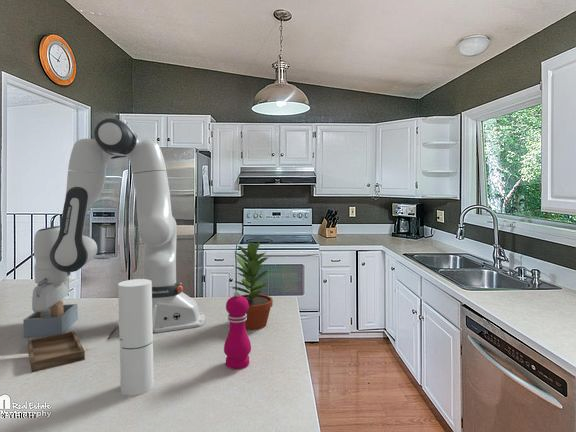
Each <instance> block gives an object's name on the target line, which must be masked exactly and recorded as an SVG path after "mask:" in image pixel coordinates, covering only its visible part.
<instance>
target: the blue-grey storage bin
mask: <svg viewBox="0 0 576 432" xmlns="http://www.w3.org/2000/svg"><path fill="white" fill-rule="evenodd" d="M63 309H64V314H62V315H61V316H60V317H48V318H41V316H40V312H34V311H33V313H31V314H30V315H29V316H27V317H25V318H24V319H23V338H33V337H35V338H38V337H47V336H53V335H58V334H63V333H66V331H68V329H69V328H71V326H73V325H74V324H75V323H76V322H77V321H78V320H79V315H78V313H79V312H78V310H79V309H78V303H68V304H63Z"/></svg>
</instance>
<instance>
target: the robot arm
mask: <svg viewBox="0 0 576 432" xmlns="http://www.w3.org/2000/svg"><path fill="white" fill-rule="evenodd" d="M93 136H94V138H81V139H78V140H77V141H75V142H74V144H73V146H72V150H71V152H70V156H69V162H68V168H67V177H66V178H67V179H66V190H65V191H66V192H65V199H64V204H63V208H62V209H63V210H62V214H61V220H60V225H59V226H58V225H56V226H51V227H50V226H49V227H45V228H44V227H43V228H41V229H39V230H37V231H36V232H35V233H34V234H35V235H34V239H33V257H34V260H35V262H34V263H35V264H34V268H33V269H34V283H35V284H37V286H35V287H34V288H33V290H32V297H31V299H32V300H31V302H32V303H31V309H32V311H33V313H34V312H42V313H43V315H44V318H48V317H52V314H51V311H50V310H51V307H52V306H53V305H55V304H56V303H57V302H59V301H62V300H63V299H64V298H65V297H67V296H68V295H69V291H70V276H71V274H72V273H74V272H77V271H79V270H80V269H82V268H83V267H84V266H85V265H86V264H88V263H89V262H91V261H92V260H94V259H95V257H96V256H97V254H98V251H99V250H98V244H97V242H96V241H95V240H94V238H91V236H86V235H84V233H85V232H84V231H85V223H86V217H87V213H88V211H89V208H90V207H91V205H92V204H93V203H94V202H95V201H96V200H97V199H98V198H99V197H100V196H101V195H102V193H103V191H104V187H105V183H106V177H107V175H106V174H107V167H108V166H107V165H108V162H109V160H110V159H119V158H126V157H127V159H128V161H129V163H130V166H131V174H132V179H133V181H132V182H133V186H134V191H135V192H134V193H135V198H136V199H135V200H136V215H137V226H138V227H137V228H138V235H139V238H140V240H141V241H142V242H143V253H142V254H143V255H142V262H141V263H142V279H147V280H151V281H152V326H153V333H162V332H163V333H164V332H171V331H177V330H178V331H179V330H185V329H190V328H191V329H192V328H198V327H201V326H202V325H204V324H205V321H206V315H205V314H204V313H203V312H202V311H200V309H199V305H198V303H197V301H196V300H195V299H193V298H192V297H190V296H189V295H187V294H186V293H185V292H183V290H184V287H183V283H182V282H178V281H177V236H178V235H177V233H178V232H177V231H178V229H177V228H178V225H177V222H176V219H175V217H174V216H173V212H172V201H171V189H170V184H169V179H168V171H167V166H166V162H165V157H164V154H163V152H162V149H161V146H160V145H159V143H157V142H156V141H154V140H153V139H140V138H138V135H137V134H136V132H135V131H134V130H133V128H131V127H130V126H129V125H128V124H127V123H125V122H124V121H122V120H120V119H117V118H114V117H113V118H111V117H109V118H105V119H102V120H100V122H98V123H97V125H96V126H95V127H94V133H93Z"/></svg>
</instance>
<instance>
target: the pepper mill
mask: <svg viewBox="0 0 576 432" xmlns="http://www.w3.org/2000/svg"><path fill="white" fill-rule="evenodd" d="M240 295H242V294H241V291H239V290H235V291H234V292H233V296H231V297H230V298H228V299H227V301H226V304H225V310H226V312H227V313H228V315H227V320H228V322H229V330H228V332H227V333H228V334H227V336H226V339H225V341H224V343H223V344H224V345H223V353H224V354H225V356H226V357H225V367H227V368H228V369H231V370H243V369H245V368H247V367H248V366H249V365H250V356H249V354H250V353H251V351H252V344H251V339H250V338H249V335H248V332H247V330H246V329H245V321H246V320H247V317H246V316H247V314H246V312H247V311H248V308H249V304H248V301H247V299H246V298H244V297H242V296H240Z"/></svg>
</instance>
